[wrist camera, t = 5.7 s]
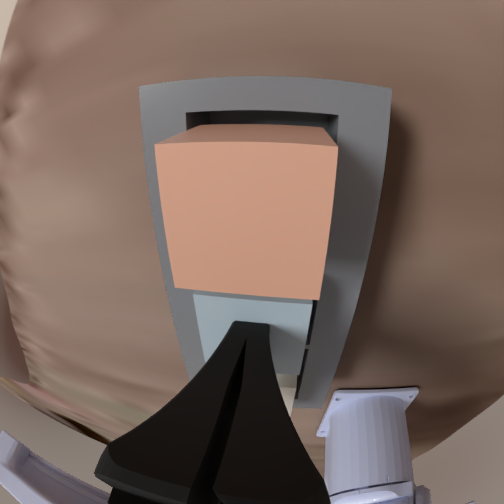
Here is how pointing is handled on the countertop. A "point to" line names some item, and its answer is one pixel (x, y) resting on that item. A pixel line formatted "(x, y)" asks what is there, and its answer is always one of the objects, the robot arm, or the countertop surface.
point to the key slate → (260, 311)
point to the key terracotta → (248, 207)
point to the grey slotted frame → (344, 203)
